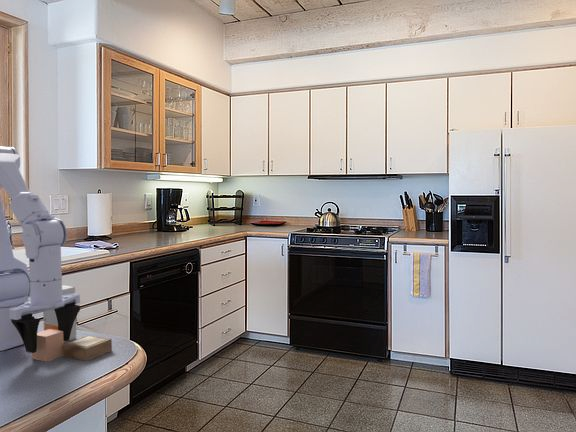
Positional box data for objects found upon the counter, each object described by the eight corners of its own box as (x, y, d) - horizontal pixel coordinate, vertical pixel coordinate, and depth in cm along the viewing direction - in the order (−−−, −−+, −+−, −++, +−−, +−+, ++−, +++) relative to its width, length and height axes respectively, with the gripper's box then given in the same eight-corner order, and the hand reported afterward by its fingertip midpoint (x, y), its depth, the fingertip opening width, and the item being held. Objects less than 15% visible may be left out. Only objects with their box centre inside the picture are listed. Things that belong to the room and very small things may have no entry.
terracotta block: (32, 358, 92) (31, 334, 92) (50, 352, 96) (49, 328, 96) (46, 361, 91) (45, 336, 90) (63, 355, 94) (63, 331, 94)
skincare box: (43, 339, 104) (41, 287, 104) (60, 334, 108) (58, 284, 107) (60, 343, 101) (58, 290, 101) (77, 338, 105) (75, 286, 104)
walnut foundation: (63, 356, 93) (63, 343, 93) (89, 346, 99) (88, 334, 99) (86, 361, 91) (86, 348, 91) (111, 350, 97) (111, 338, 97)
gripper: (26, 287, 84) (28, 360, 85) (89, 274, 98) (91, 337, 98) (0, 285, 87) (3, 355, 88) (65, 272, 100) (67, 334, 101)
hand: (48, 345), depth 93 cm, fingers open, 7 cm apart
